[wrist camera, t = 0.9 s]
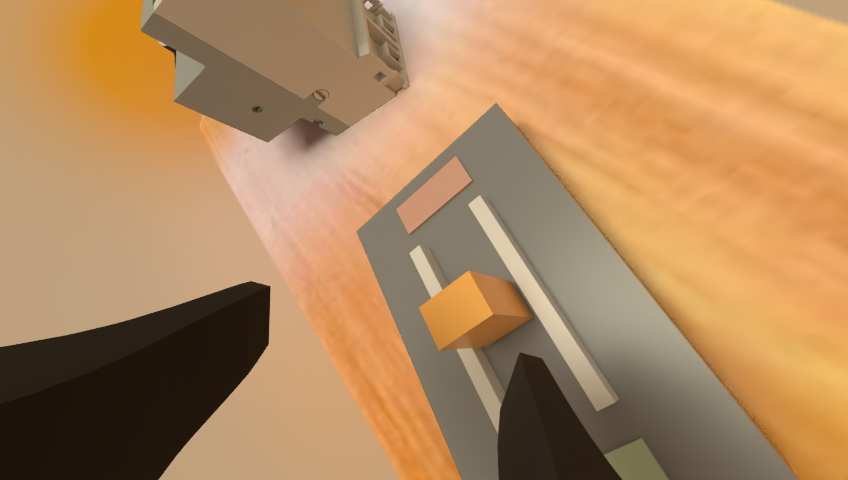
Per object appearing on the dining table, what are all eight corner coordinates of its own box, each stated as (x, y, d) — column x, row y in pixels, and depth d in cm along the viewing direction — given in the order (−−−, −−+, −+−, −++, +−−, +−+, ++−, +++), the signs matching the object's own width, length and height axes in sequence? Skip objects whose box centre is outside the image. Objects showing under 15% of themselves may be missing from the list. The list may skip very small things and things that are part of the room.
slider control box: (787, 462, 15) (812, 499, 12) (531, 555, 19) (498, 600, 16) (516, 125, 24) (488, 94, 21) (385, 239, 29) (345, 228, 25)
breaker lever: (533, 317, 18) (493, 314, 15) (487, 346, 19) (438, 350, 16) (511, 281, 19) (468, 270, 16) (468, 311, 20) (418, 307, 17)
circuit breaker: (287, 102, 40) (108, 4, 28) (394, 16, 33) (217, -166, 21) (292, 165, 37) (97, 87, 25) (409, 86, 30) (217, -75, 18)
